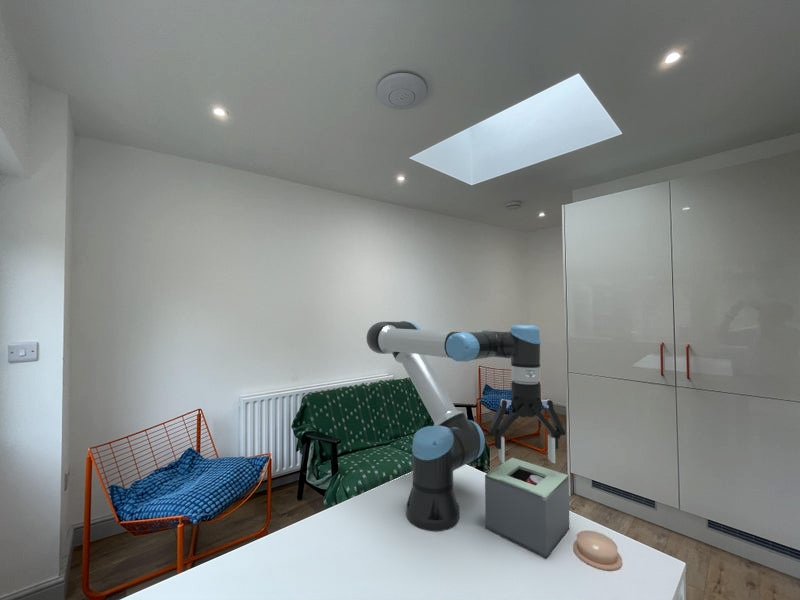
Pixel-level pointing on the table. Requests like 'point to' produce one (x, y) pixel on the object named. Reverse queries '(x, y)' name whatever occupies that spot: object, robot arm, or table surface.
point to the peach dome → (597, 551)
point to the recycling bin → (527, 506)
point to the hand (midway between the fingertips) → (526, 461)
